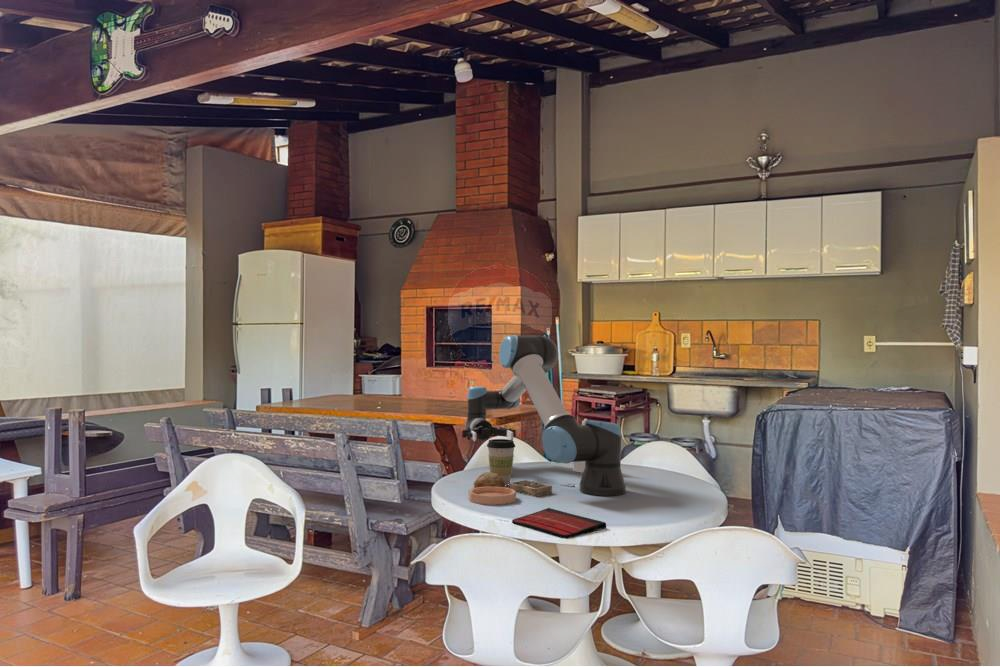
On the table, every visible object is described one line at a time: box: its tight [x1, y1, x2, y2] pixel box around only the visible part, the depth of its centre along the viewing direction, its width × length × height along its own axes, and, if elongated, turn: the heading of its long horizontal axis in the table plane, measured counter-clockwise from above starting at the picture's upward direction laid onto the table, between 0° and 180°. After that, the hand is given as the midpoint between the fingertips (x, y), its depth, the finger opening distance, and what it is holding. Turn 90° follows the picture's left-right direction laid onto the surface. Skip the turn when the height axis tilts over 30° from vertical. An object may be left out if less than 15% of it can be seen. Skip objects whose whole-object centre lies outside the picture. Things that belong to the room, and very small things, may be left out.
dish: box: [467, 486, 517, 506], centre depth 215 cm, size 14×14×2 cm
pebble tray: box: [508, 479, 553, 497], centre depth 226 cm, size 12×8×3 cm, turn 44°
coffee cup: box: [486, 438, 516, 486], centre depth 238 cm, size 10×10×15 cm
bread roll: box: [473, 471, 506, 488], centre depth 227 cm, size 10×10×8 cm
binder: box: [511, 507, 607, 539], centre depth 185 cm, size 16×2×21 cm
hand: (493, 436), depth 248 cm, fingers open, 13 cm apart
